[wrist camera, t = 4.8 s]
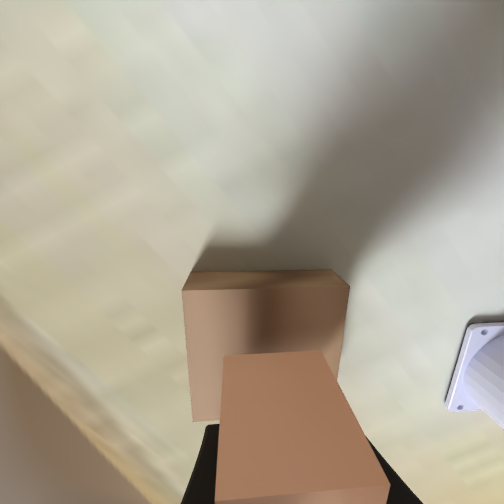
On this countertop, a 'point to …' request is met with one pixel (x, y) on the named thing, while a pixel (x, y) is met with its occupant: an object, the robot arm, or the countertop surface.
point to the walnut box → (257, 322)
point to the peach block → (291, 435)
